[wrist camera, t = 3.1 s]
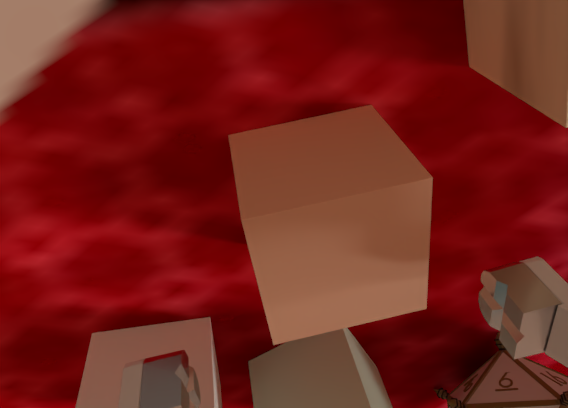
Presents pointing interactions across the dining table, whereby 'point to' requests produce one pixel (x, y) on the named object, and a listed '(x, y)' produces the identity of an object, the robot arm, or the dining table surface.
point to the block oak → (522, 50)
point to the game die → (509, 385)
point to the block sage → (317, 375)
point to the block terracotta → (333, 221)
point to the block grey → (144, 344)
